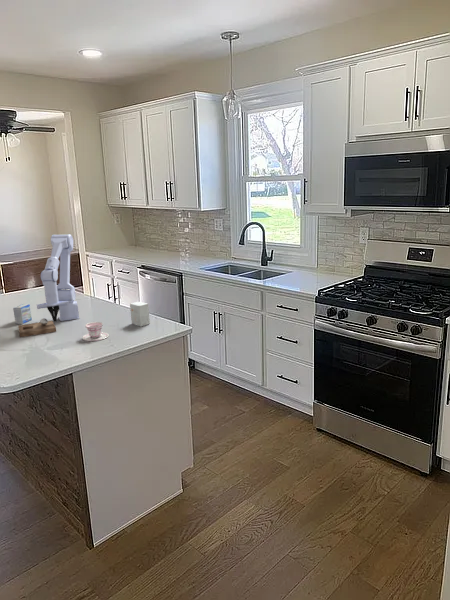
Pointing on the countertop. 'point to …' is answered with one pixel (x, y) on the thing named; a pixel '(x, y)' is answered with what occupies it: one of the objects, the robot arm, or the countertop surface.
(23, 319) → the medicine box
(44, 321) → the steel ball
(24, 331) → the hole plate
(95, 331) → the teacup
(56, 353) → the countertop surface
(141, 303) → the small box
